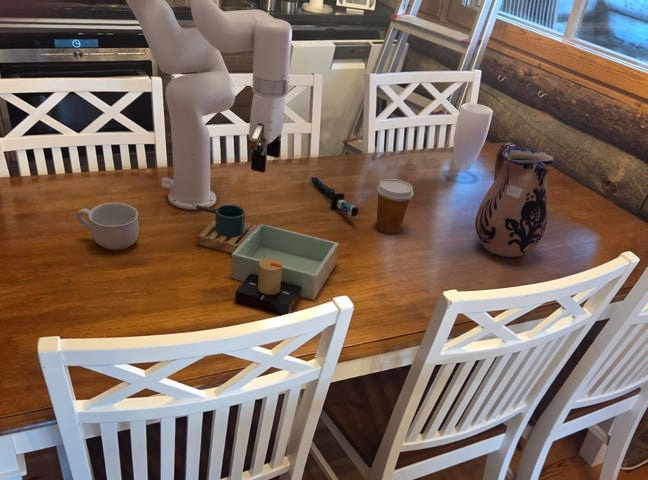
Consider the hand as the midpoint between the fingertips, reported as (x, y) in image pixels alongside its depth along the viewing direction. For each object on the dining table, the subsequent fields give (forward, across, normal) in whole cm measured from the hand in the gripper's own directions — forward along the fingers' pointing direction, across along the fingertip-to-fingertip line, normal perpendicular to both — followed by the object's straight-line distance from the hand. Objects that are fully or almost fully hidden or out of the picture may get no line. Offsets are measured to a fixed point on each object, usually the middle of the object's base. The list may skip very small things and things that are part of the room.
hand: (265, 163), depth 143 cm
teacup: (+20, +17, -31) cm, 41 cm away
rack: (+20, +4, -7) cm, 21 cm away
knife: (+20, -30, +10) cm, 37 cm away
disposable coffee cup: (+20, -22, +28) cm, 41 cm away
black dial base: (+20, +24, +11) cm, 33 cm away
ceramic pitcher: (+20, -26, +57) cm, 66 cm away
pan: (+17, +4, -10) cm, 20 cm away
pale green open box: (+20, +11, +10) cm, 25 cm away
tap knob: (+17, +24, +11) cm, 31 cm away
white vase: (+20, -70, +42) cm, 84 cm away
